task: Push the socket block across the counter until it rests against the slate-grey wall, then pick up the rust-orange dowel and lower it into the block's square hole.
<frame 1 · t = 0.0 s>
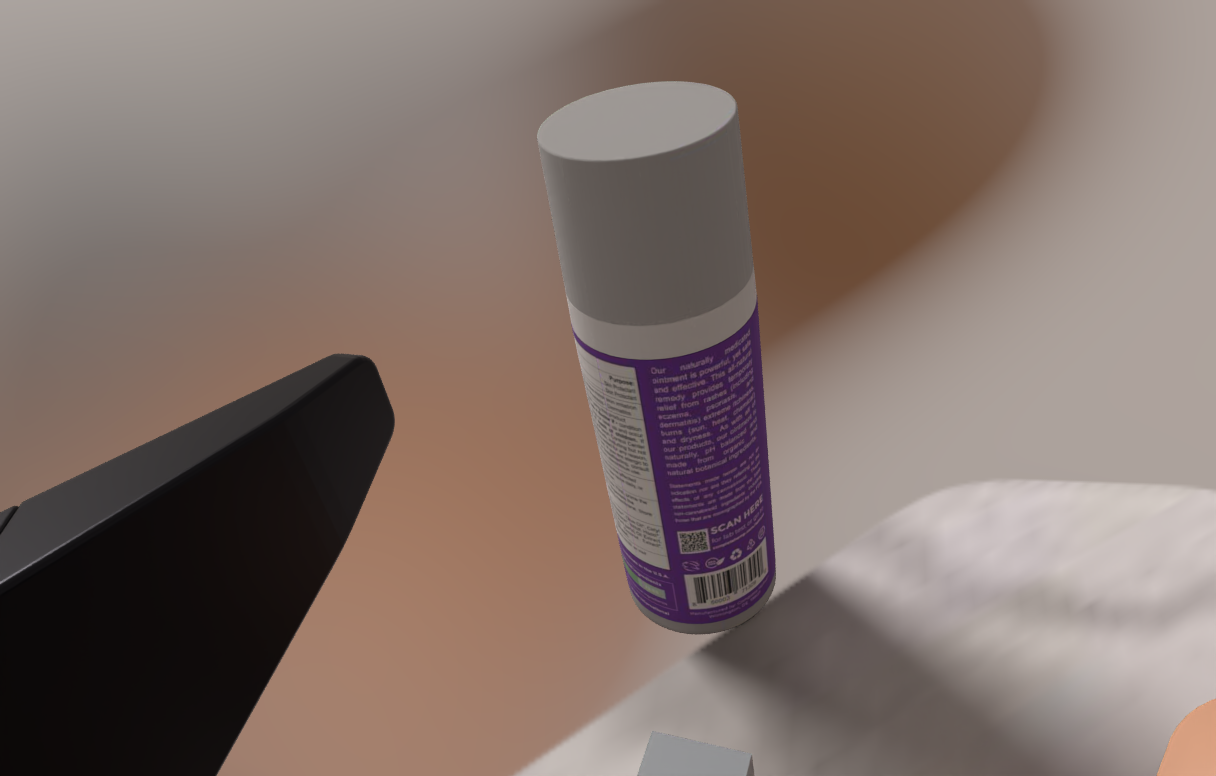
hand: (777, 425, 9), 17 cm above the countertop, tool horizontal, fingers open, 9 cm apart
container: (702, 579, 29), on the countertop
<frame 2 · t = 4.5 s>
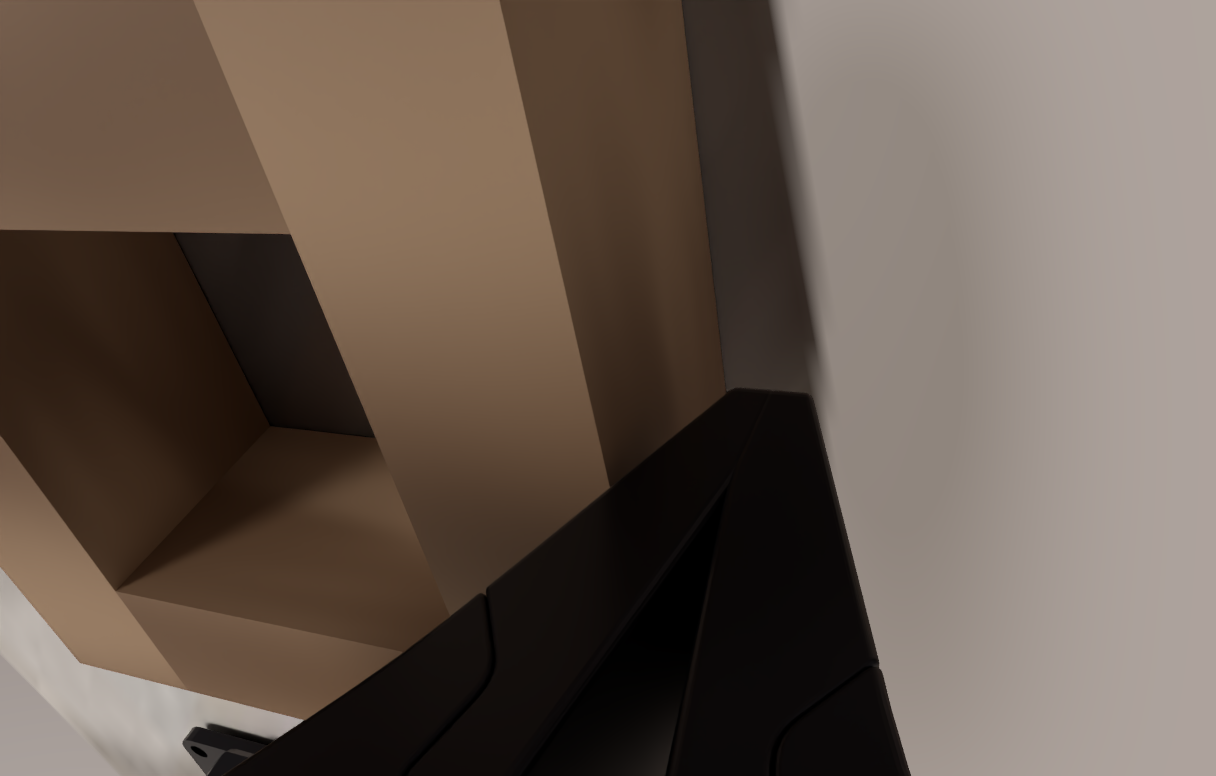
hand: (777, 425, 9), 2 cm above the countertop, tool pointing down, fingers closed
socket block: (353, 287, 12), on the countertop, touching gripper
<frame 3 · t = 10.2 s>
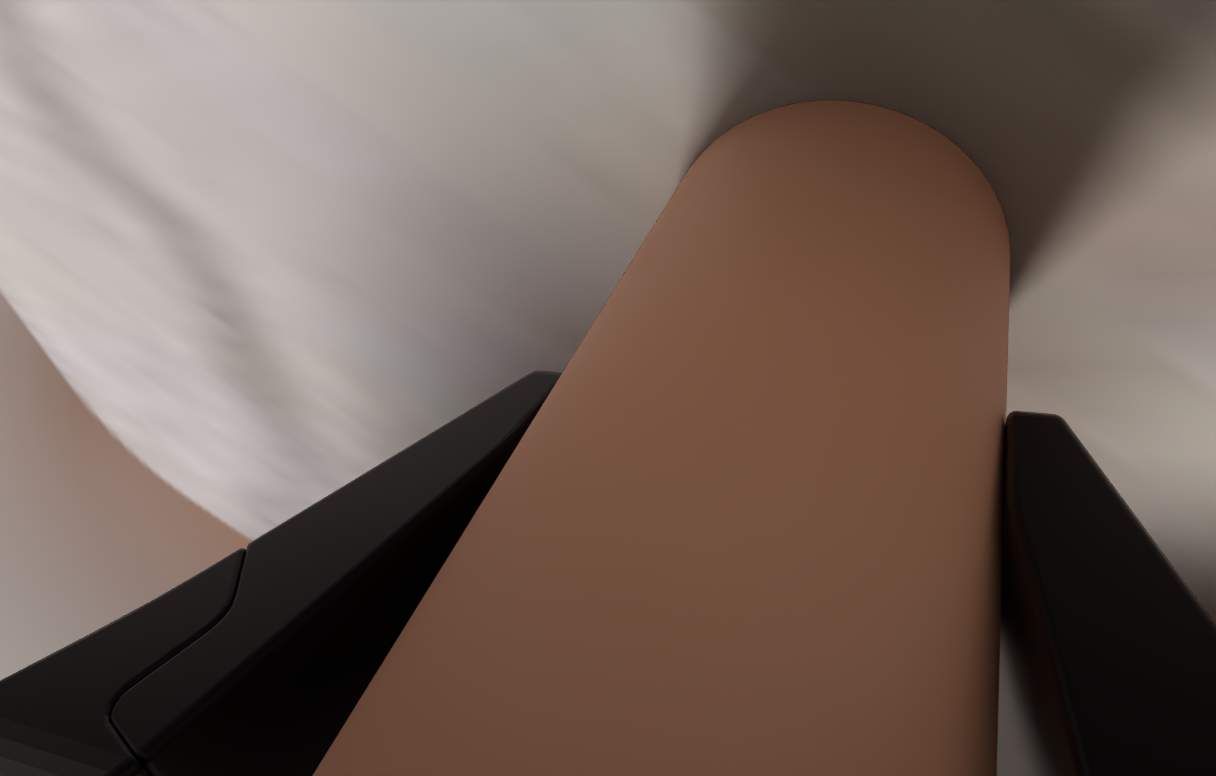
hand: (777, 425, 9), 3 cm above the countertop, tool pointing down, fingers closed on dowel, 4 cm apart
dowel: (827, 264, 11), on the countertop, touching gripper
when the fingers open (5 cm above the countertop, at t = 14.4 s): dowel drops 2 cm, resting in socket block.
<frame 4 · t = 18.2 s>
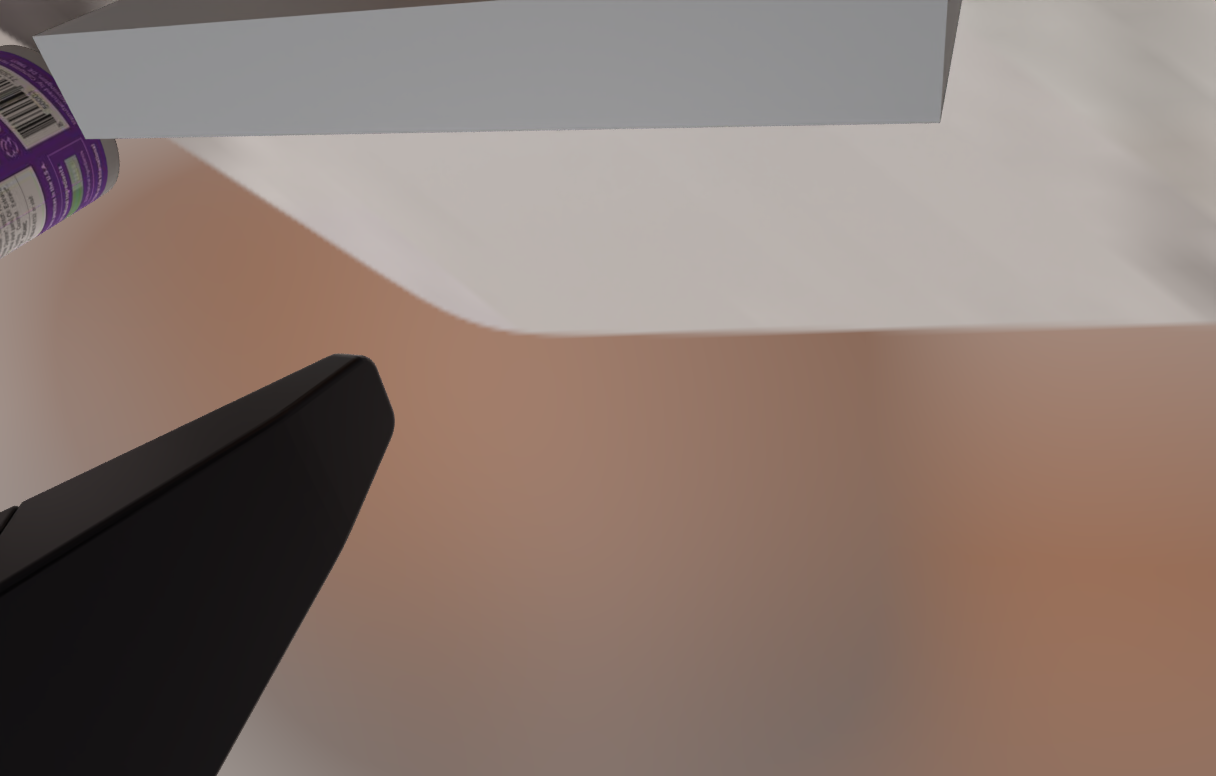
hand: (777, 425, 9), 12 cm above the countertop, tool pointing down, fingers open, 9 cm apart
container: (56, 121, 27), on the countertop
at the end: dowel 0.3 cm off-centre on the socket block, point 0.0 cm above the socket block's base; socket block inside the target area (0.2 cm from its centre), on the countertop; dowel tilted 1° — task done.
